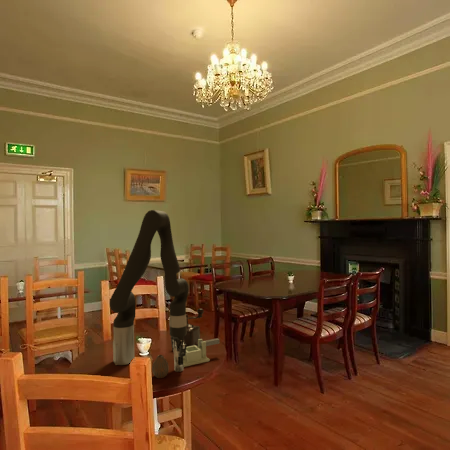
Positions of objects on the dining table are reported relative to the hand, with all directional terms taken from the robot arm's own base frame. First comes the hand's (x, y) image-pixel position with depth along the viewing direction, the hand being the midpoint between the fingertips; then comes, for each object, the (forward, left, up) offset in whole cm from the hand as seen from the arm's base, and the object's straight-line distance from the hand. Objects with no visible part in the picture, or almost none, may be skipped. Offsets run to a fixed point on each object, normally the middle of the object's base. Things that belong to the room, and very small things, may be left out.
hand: (178, 362), depth 159 cm
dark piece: (+17, +28, -4) cm, 33 cm away
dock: (+9, +7, -3) cm, 12 cm away
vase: (-9, -2, -4) cm, 10 cm away
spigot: (0, 0, -3) cm, 3 cm away
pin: (+18, +7, +3) cm, 20 cm away
